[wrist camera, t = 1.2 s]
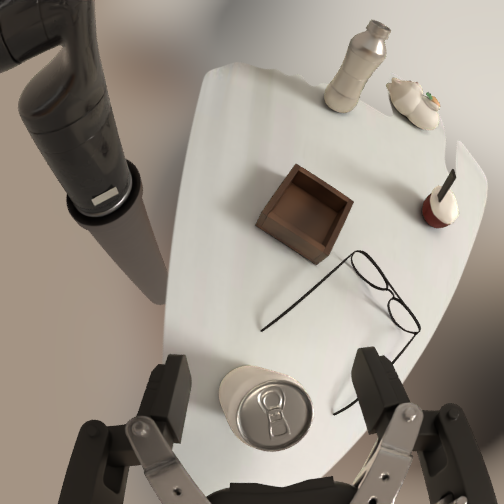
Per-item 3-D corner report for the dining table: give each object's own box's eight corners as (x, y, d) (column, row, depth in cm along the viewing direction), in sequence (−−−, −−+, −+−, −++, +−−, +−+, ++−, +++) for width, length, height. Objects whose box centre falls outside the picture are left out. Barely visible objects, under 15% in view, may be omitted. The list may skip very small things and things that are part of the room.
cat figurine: (454, 111, 43) (405, 63, 42) (441, 133, 45) (389, 83, 44) (433, 120, 53) (389, 78, 52) (420, 141, 54) (374, 98, 53)
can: (269, 359, 30) (309, 363, 19) (281, 411, 28) (326, 439, 17) (212, 371, 28) (219, 386, 17) (225, 425, 26) (241, 466, 15)
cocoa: (445, 217, 43) (489, 187, 32) (442, 243, 41) (491, 214, 30) (410, 187, 43) (452, 150, 32) (405, 213, 41) (452, 175, 30)
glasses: (404, 333, 34) (426, 332, 29) (329, 412, 30) (344, 423, 26) (345, 255, 36) (361, 244, 31) (258, 330, 32) (264, 330, 28)
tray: (255, 225, 35) (261, 212, 32) (288, 178, 38) (295, 163, 35) (316, 265, 35) (328, 256, 31) (342, 213, 38) (354, 201, 35)
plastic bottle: (313, 100, 46) (355, 15, 28) (332, 91, 48) (371, 15, 30) (340, 121, 45) (391, 37, 27) (356, 110, 48) (404, 36, 29)
